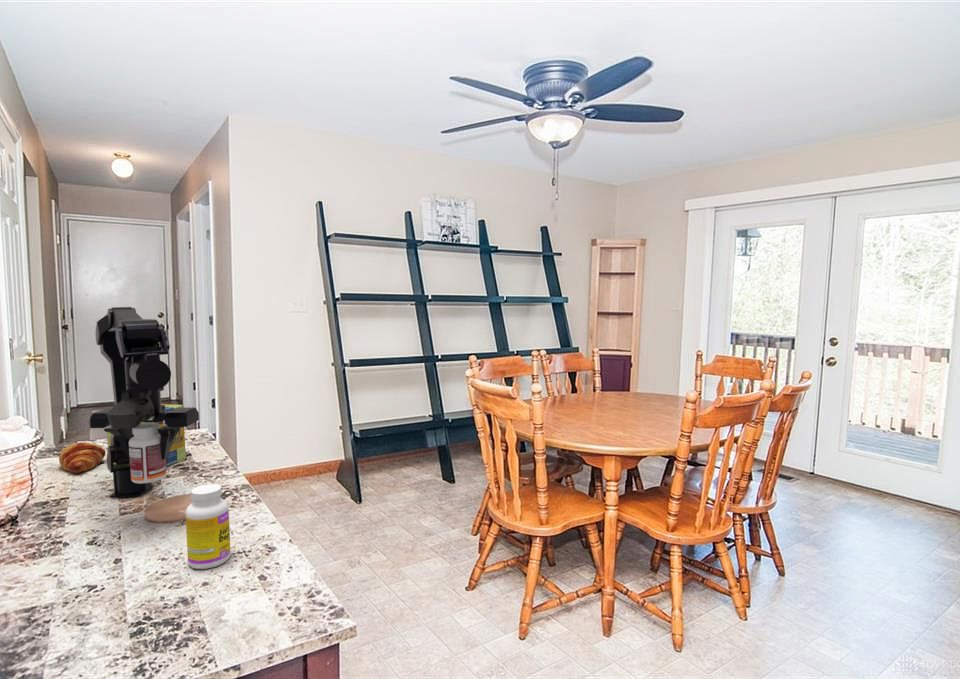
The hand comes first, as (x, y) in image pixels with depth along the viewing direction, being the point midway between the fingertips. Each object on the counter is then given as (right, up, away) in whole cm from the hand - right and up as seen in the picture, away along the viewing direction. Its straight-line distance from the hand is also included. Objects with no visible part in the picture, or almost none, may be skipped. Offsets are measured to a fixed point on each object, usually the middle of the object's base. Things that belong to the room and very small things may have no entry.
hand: (148, 459), depth 109 cm
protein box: (-23, -10, +38) cm, 45 cm away
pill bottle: (0, -4, 0) cm, 4 cm away
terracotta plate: (+3, -12, +6) cm, 14 cm away
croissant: (-40, -10, +37) cm, 56 cm away
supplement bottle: (+20, -14, -16) cm, 29 cm away
